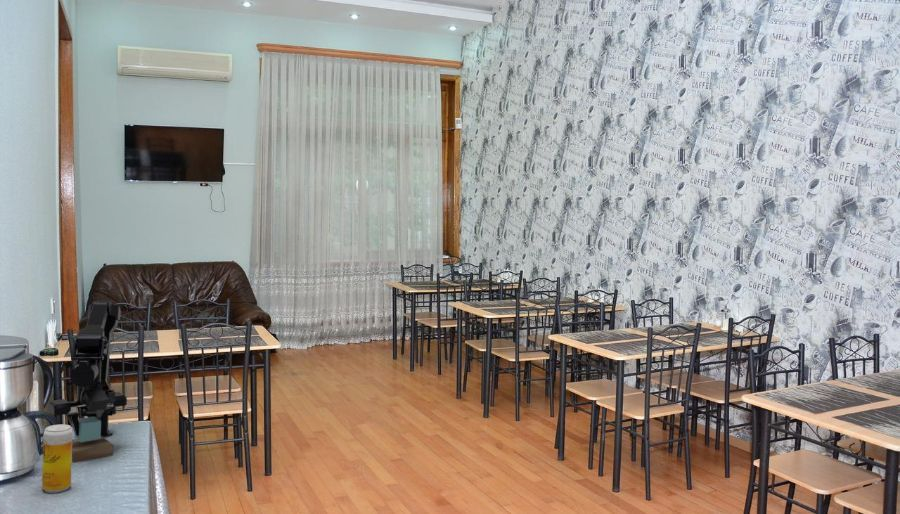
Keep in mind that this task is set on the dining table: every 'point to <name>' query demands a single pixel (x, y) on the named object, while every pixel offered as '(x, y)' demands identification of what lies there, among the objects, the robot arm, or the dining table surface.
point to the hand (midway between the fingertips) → (87, 434)
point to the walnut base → (91, 449)
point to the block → (89, 429)
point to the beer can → (57, 458)
